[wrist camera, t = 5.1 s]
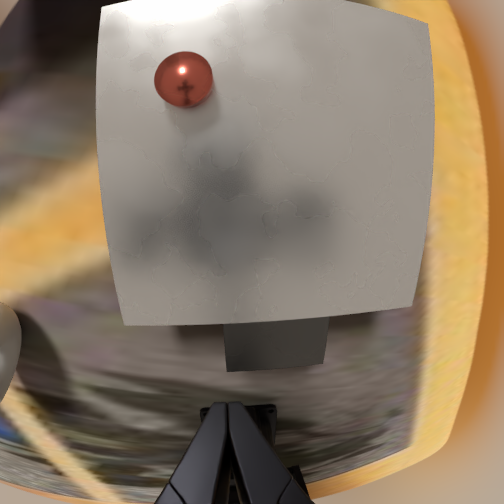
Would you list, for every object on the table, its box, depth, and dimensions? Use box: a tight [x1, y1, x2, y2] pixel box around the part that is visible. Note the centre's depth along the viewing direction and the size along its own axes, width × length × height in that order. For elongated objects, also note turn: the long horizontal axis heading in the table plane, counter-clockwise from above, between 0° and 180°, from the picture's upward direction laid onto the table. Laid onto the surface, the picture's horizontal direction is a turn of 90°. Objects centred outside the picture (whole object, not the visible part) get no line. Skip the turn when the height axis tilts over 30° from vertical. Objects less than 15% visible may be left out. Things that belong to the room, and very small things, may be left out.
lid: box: [96, 0, 435, 372], centre depth 12 cm, size 17×14×2 cm
